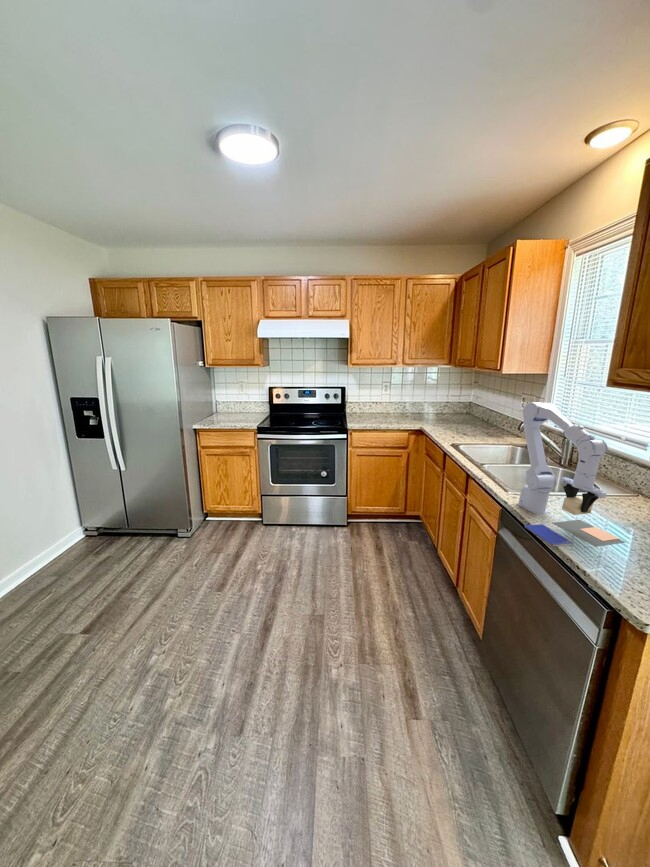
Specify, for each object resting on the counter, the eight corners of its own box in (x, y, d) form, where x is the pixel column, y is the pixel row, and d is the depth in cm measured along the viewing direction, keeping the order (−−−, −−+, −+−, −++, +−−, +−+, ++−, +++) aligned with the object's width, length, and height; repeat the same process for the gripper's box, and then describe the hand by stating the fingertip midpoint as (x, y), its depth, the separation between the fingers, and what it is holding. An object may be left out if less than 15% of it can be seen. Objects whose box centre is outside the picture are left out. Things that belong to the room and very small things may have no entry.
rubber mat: (551, 523, 124) (551, 522, 124) (579, 520, 128) (579, 519, 128) (595, 547, 109) (595, 546, 109) (625, 543, 113) (625, 542, 113)
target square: (579, 529, 120) (579, 528, 120) (595, 527, 122) (595, 527, 122) (602, 541, 112) (602, 540, 112) (619, 539, 115) (619, 538, 115)
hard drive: (574, 542, 109) (543, 524, 121) (553, 544, 108) (524, 525, 120) (573, 547, 110) (542, 528, 122) (552, 548, 108) (523, 529, 120)
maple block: (578, 507, 122) (581, 496, 121) (590, 513, 118) (593, 501, 116) (561, 509, 120) (564, 497, 118) (573, 515, 115) (576, 503, 114)
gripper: (557, 466, 121) (549, 500, 124) (599, 481, 107) (589, 519, 110) (572, 465, 123) (564, 499, 126) (614, 480, 109) (604, 517, 112)
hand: (576, 508), depth 118 cm, fingers closed on maple block, 4 cm apart
